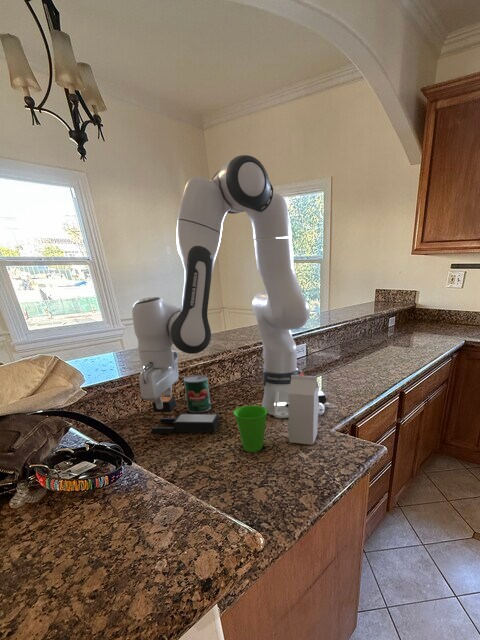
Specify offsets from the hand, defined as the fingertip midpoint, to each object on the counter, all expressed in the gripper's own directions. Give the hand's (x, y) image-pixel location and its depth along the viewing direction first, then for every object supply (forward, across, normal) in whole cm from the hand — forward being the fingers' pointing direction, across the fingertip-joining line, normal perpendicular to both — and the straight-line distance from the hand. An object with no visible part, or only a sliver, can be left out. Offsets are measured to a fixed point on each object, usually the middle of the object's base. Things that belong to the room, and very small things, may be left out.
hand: (164, 404), depth 106 cm
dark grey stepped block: (+8, 0, -6) cm, 10 cm away
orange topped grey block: (+2, 0, 0) cm, 2 cm away
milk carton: (+8, -7, -42) cm, 43 cm away
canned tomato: (+8, +16, -5) cm, 19 cm away
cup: (+8, -13, -28) cm, 32 cm away
